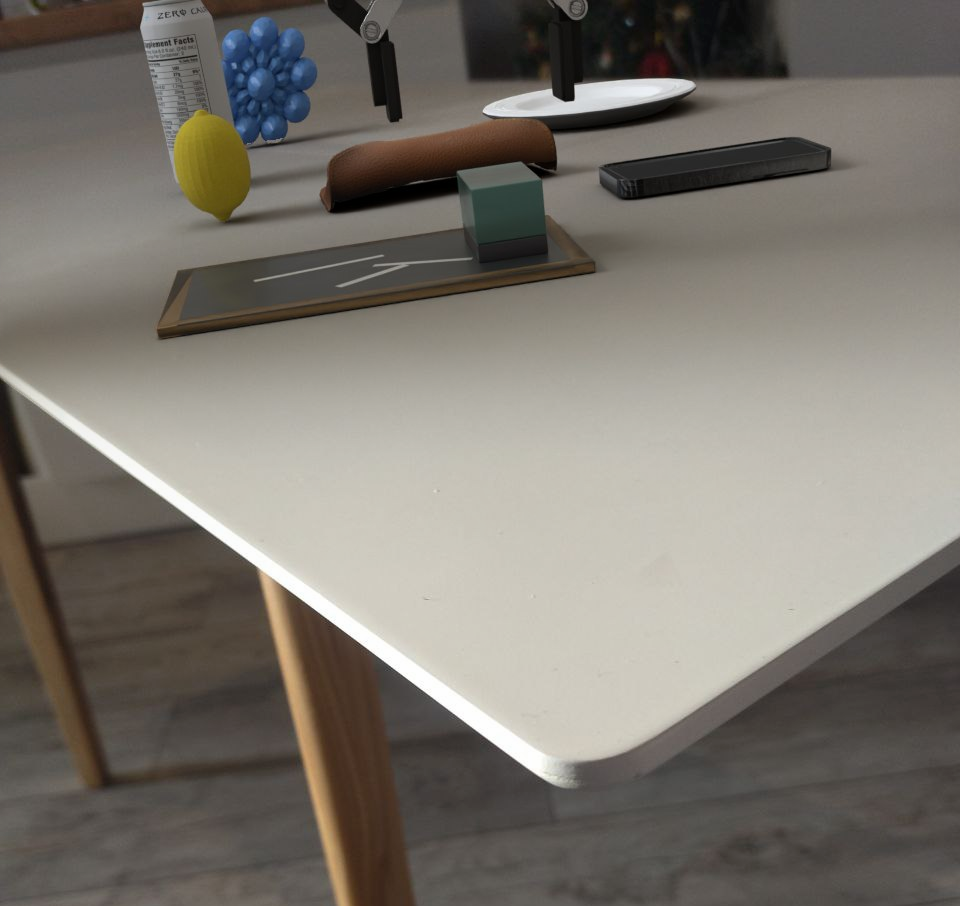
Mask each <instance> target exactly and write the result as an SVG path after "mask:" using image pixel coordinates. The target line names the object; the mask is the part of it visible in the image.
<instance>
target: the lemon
mask: <svg viewBox="0 0 960 906" xmlns="http://www.w3.org/2000/svg"><path fill="white" fill-rule="evenodd" d="M250 162H251V161H250V158H249V155H248V151H247V148H246V145H244V143H243V141H242V139H241V137H240V135H239V133H238V132H237V130H236V129H235V128H234V127H233V126H232V125H231V124H230V123H229V122H227V121H226V120H224V119H223V118H221V117H218V116H216V115H212V114H209V113H208V112H207V111H206V110H203V109H200V110H197V111H196V112H195V114H194V116H193V117H192V118H190V119H189V120H187V121H186V122H185V123H184V124H183V125H182V127H181V128H180V129H179V131H178V133H177V135H176V138H175V143H174V165H175V171H176V175H177V179H178V182H179V184H180V185H179V184H178V185H179V186H180V189H181V191H182V193H183V194H184V196H185V198H186V199H187V200H188V202H189V203H190V204H191V205H193V206H194V207H195V208H196V209H198V210H200V211H201V212H205V213H207V214H210V215H212V216H213V217H214V218H215V219H217V220H218V221H219V222H224V221H225V222H226V221H229V220H230V218H231V216H232V214H233V213H234V211H235V210H236V209H237V208H239V207H240V206H241V205H242V204H243V203H244V201H245V200H246V198H247V197H248V194H249V191H250V189H251V179H252V174H251V173H252V172H251V163H250Z"/></svg>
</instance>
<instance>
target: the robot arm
mask: <svg viewBox="0 0 960 906" xmlns="http://www.w3.org/2000/svg"><path fill="white" fill-rule="evenodd" d="M323 1H324V2H325V4H326V6H327V7H328V9H329V10H330V11H331V12H332V14H334V16H336V17H337V18H338V19H339V20H341V21H342V22H343V23H344V24H345V25H346V26H348V27H349V28H350V29H351V30H352V31H353V32H354V33H355V34H356V35H358V36H359V37H360V38H361V39H362V40H364V41H365V49H366V56H367V65H368V72H369V79H370V80H369V81H370V88H371V94H372V95H371V96H372V102H373V107H375V108H377V107H385V112H386V119H387V120H388V121H389V123H390V124H393V123H399V122H400V120H403V117H404V116H403V108H402V100H401V91H400V83H399V73H398V66H397V65H398V64H397V56H396V48H395V43H394V42H393V41H391V40H390V35H389V29H388V28H389V26H390V24H391V22H392V20H393V19H394V17H395V16H396V14H397V12H398V11H399V9H400V7H401V5H402V4H403V2H404V0H370V3H369V4H368V6H367V8H364V7H363V6H362V5H361V4H360V3H359V2H358V1H357V0H323ZM546 1H547V2H548V4H549V5H550V6H551V7H552V8H553V9H552V13H553V14H552V15H553V18H552V19H550V22H548V26H547V27H548V43H549V61H550V62H549V63H550V76H551V77H550V78H551V89H552V93H553V96H554V97H556V98H558V99H560V100H562V101H564V102H570V101H574V100H575V87H574V85H575V84H580V83H581V84H582V83H583V81H584V57H583V56H584V55H583V34H582V33H583V32H582V19H583V18H585V17H586V15H587V13H588V10H589V8H590V7H591V6H592V4H593V3H594V1H595V0H546Z"/></svg>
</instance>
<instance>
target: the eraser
mask: <svg viewBox="0 0 960 906" xmlns="http://www.w3.org/2000/svg"><path fill="white" fill-rule="evenodd" d="M456 178H457V187H458V195H459V196H458V197H459V204H460V211H461V220H462V228H463V230H464V238H465V240H466V242H467V243H468V245H469V246H470V248H471V250H472V251H473V253H474V255H475V256H476V258H477V260H478V261H479V263H485V262H491V261H498V260H504V259H511V258H517V257H524V256H531V255H537V254H544V253H548V242H547V235H546V234H547V231H546V220H545V215H546V211H545V210H546V209H545V198H544V197H545V196H544V188H543V187H544V186H543V180H542V179H541V178H540V177H539V176H538V175H537V174H536V173H535V172H534V171H533V170H531V168H529V167H528V166H527V164H525V165H524V164H523V163H522V162H515V163H508V164H501V165H494V166H488V167H481V168H474V169H467V170H460V171H457V176H456Z"/></svg>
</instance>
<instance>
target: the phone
mask: <svg viewBox="0 0 960 906" xmlns="http://www.w3.org/2000/svg"><path fill="white" fill-rule="evenodd" d="M829 167H832V148H831V147H829V146H828V145H824V144H821V143H818V142H816V141H813V140H810V139H806V138H805V137H800V136H784V137H777V138H770V139H764V140H757V141H751V142H744V143H737V144H731V145H730V144H729V145H723V146H716V147H710V148H703V149H696V150H690V151H683V152H676V153H671V154H663V155H656V156H649V157H643V158H635V159H630V160H629V159H627V160H623V161H616V162H609V163H604V164H601V165H599V166H598V178H599V184H600V185H601V186H603V187H604V188H605V189H607V190H608V191H609V192H611V193H612V194H614V195H615V196H617V197H618V198H638V197H645V196H650V195H652V196H653V195H657V194H665V193H672V192H678V191H686V190H691V189H699V188H705V187H712V186H718V185H725V184H732V183H737V182H745V181H752V180H759V179H763V178H772V177H777V176H785V175H792V174H798V173H805V172H810V171H819V170H823V169H827V168H829Z"/></svg>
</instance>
